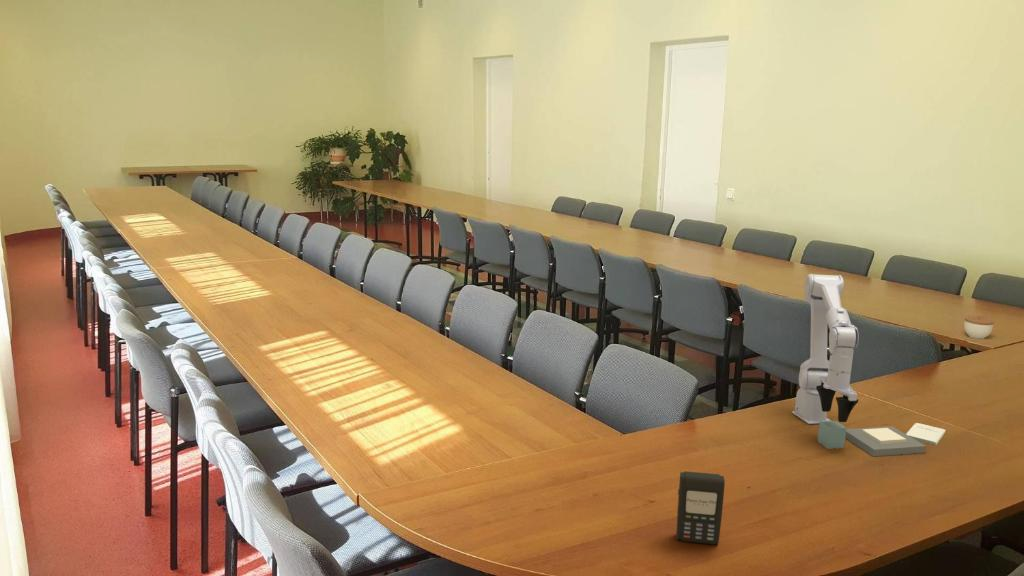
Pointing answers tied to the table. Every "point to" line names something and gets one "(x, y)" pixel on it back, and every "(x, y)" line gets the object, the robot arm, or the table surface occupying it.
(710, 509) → the card reader
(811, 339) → the robot arm
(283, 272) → the table surface
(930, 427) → the external hard drive
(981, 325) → the lidded jar
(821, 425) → the block
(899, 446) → the base board
